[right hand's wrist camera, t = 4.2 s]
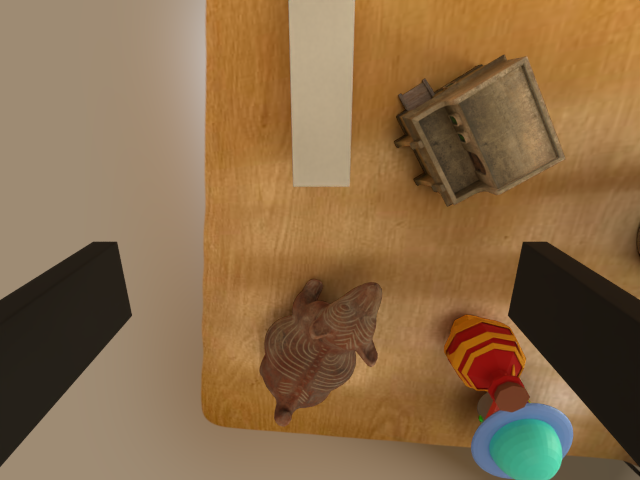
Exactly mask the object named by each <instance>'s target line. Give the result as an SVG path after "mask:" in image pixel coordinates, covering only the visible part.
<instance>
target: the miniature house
mask: <svg viewBox="0 0 640 480" xmlns="http://www.w3.org/2000/svg"><path fill="white" fill-rule="evenodd" d="M422 81H423V83H421V84H420V85H418V86H416V87H415V88H413V89H412V90H410V91H408V92H407V93H405V94H404V95H402V94H399V95H398V96H399V98H400V100H401V102H402V104H403V106H404V108H405V111H403V112H401V113H400V114H398V115H397V116H396V118H397V120H398V122H399V124H400V126H401V128H402V129H403V131H404V133H405V135H404V136H402V137H400V138H399V139H397V140H396V141H394V143H395V145H396V147H397V148H399V147H402V146H411V148H412V150H413V151H414V153H415V155H416V157H417V159H418V161H419V163H420V165H421V167H422V168H423V170H424V172H425V173H423V174H421V175H420V176H418V177H416V178H415V179H414V181H415V183H416V185H417V186H418V185H427V186H430V187H432V189H433V191H434V192H438V193H440V194H441V196H442V198H443V200H444V202H445V204H446V206H450V205H451V204H454V205H455V204H457V203H459V202H461V201H463V200H465V199H466V198H468V197H470V196H472V195H474V194H476V193H479V192H483V191H486V192H490V193H492V194H495V195H499V194H502V193H504V192H505V191H507V190H509V189H511V188H513V187H515V186H516V185H518V184H520V183H522V182H524V181H526V180H528V179H529V178H531V177H533V176H535V175H537V174H539V173H541V172H542V171H544V170H546V169H548V168H550V167H552V166H553V165H555V164H557V163H559V162H561V161H563V160H565V156H564V153H563V151H562V148H561V145H560V143H559V140H558V137H557V135H556V132H555V129H554V127H553V124H552V121H551V119H550V116H549V113H548V111H547V108H546V105H545V103H544V100H543V97H542V95H541V92H540V89H539V87H538V84H537V81H536V79H535V76H534V74H533V71H532V68H531V66H530V63H529V60H528V58H527V56H526V57H521V58H516V59H511V60H507V59H506V57H505V55H502V56H501V57H499V58H497V59H496V60H494V61H492V62H491V63H489V64H487V65H482V64H481V65H478V66H476V67H475V68H473V69H471V70H470V71H468V72H466V73H465V74H463V75H462V76H460V77H458V78H457V79H455V80H453V81H452V82H450V83H448V84H447V85H445V86H444V87H442V88H440V89H439V90H437V91H435V92H433V90H432V88H431V87H430V85H429V84H428V82H427V81H426V79H423V80H422Z"/></svg>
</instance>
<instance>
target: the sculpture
mask: <svg viewBox="0 0 640 480" xmlns="http://www.w3.org/2000/svg"><path fill="white" fill-rule="evenodd" d="M322 288H323V284H322V282H321V281H319V280H316V279H311V280H310V281H309V282H307V284H306V285H305V287H304V289H303V291H302V292H300V293H299V295H298V296H297V297H296V299H295V301H294V303H293V308H292V312H293V315H290V316H286V317H283V318H281V319H279V320H277V321H276V322H275V323H274V324H273V325H272V326H271V327H270V328H269V330H268V331H267V334H266V337H265V356H264V358H263V360H262V363H261V366H260V374H261V376H262V377H263V380H264V382H265V384H266V387H267V388H268V389H269V391H270V392H271V393H272V395H273V396H274V397H275V398H276V402H277V404H276V409H275V415H274V419H275V421H276V423H277V424H278V425H280V426H286V425H288V424H289V422H290V421H291V416H292V414H293V412H294V411H295V410H296V409H298V408H306V407H312V406H315V405H317V404H319V403H321V402H322V401H324V400H325V399H326V398H327V396H328V395H329V393H330V392H331V391H332V390H334V389H336V388H338V387H339V386H341V385H343V384H344V383H345V382H346V381H347V380H348V379H349V378H350V377H351V375H352V374H353V371H354V368H355V364H356V354H355V351H357V353H358V354H359V355H360V357H361V358H362V359H363V360H364V362H365V363H366V364H367V365H368V366H370V367H372V366H373V365H374V364H375V363H376V360H377V352H376V349H375V346H374V343H373V340H372V338H373V334H374V332H375V328H376V315H377V312H378V309H379V307H380V303H381V299H382V289H381V287H380V286H379V285H378V284H377V283H373V282H369V283H365V284H362V285H360V286H358V287H356V288H354V289H352V290H351V291H349V292H348V293H347V294H345V295H344V296H343V297H341V298H340V299H338V300H336V301H334V302H333V303H331V304H329V303H327V302H324V301H317V299H318V297H319V295H320V293H321V291H322Z"/></svg>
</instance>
